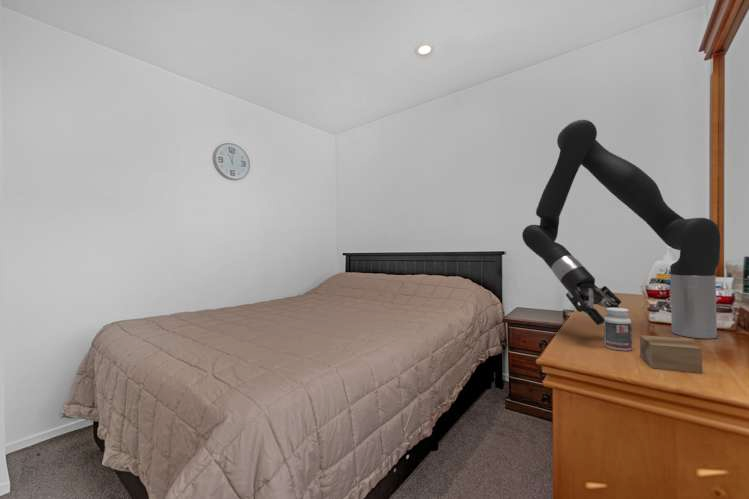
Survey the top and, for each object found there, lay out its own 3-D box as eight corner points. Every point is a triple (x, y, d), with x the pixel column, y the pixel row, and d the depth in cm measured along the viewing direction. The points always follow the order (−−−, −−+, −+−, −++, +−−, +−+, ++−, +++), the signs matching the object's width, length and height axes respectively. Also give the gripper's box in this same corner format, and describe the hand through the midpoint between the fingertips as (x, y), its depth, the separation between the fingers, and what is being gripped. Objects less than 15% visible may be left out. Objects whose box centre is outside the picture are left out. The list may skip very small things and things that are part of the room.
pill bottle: (637, 351, 80) (636, 311, 80) (611, 350, 81) (610, 311, 81) (624, 344, 85) (623, 307, 85) (600, 344, 86) (599, 306, 86)
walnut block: (640, 356, 76) (639, 335, 76) (684, 360, 73) (684, 338, 73) (652, 368, 69) (651, 344, 69) (702, 373, 66) (701, 348, 66)
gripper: (561, 266, 90) (604, 315, 79) (598, 264, 95) (642, 310, 84) (546, 284, 95) (584, 332, 84) (581, 281, 100) (621, 326, 89)
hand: (613, 321), depth 84 cm, fingers open, 8 cm apart
